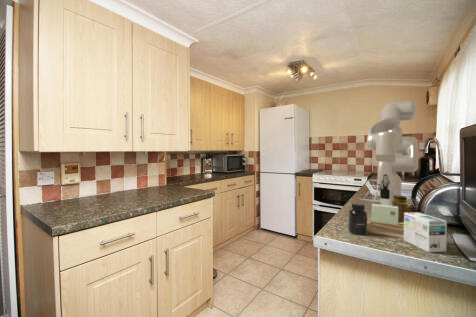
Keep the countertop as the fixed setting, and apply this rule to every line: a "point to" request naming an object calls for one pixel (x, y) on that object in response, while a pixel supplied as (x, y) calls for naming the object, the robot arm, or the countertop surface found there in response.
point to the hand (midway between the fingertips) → (384, 196)
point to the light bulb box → (425, 232)
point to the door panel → (384, 214)
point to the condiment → (400, 206)
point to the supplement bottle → (357, 219)
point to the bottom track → (385, 228)
